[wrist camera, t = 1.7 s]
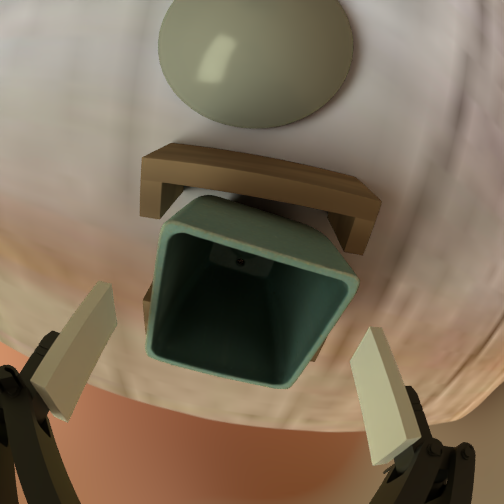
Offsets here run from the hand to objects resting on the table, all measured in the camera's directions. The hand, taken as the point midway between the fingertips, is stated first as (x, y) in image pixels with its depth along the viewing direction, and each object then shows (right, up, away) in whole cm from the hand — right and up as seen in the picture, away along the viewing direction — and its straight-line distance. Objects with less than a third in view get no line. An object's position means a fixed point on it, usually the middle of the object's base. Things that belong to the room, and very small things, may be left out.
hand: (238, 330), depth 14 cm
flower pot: (0, +5, +8) cm, 9 cm away
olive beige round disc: (+1, +17, 0) cm, 17 cm away
